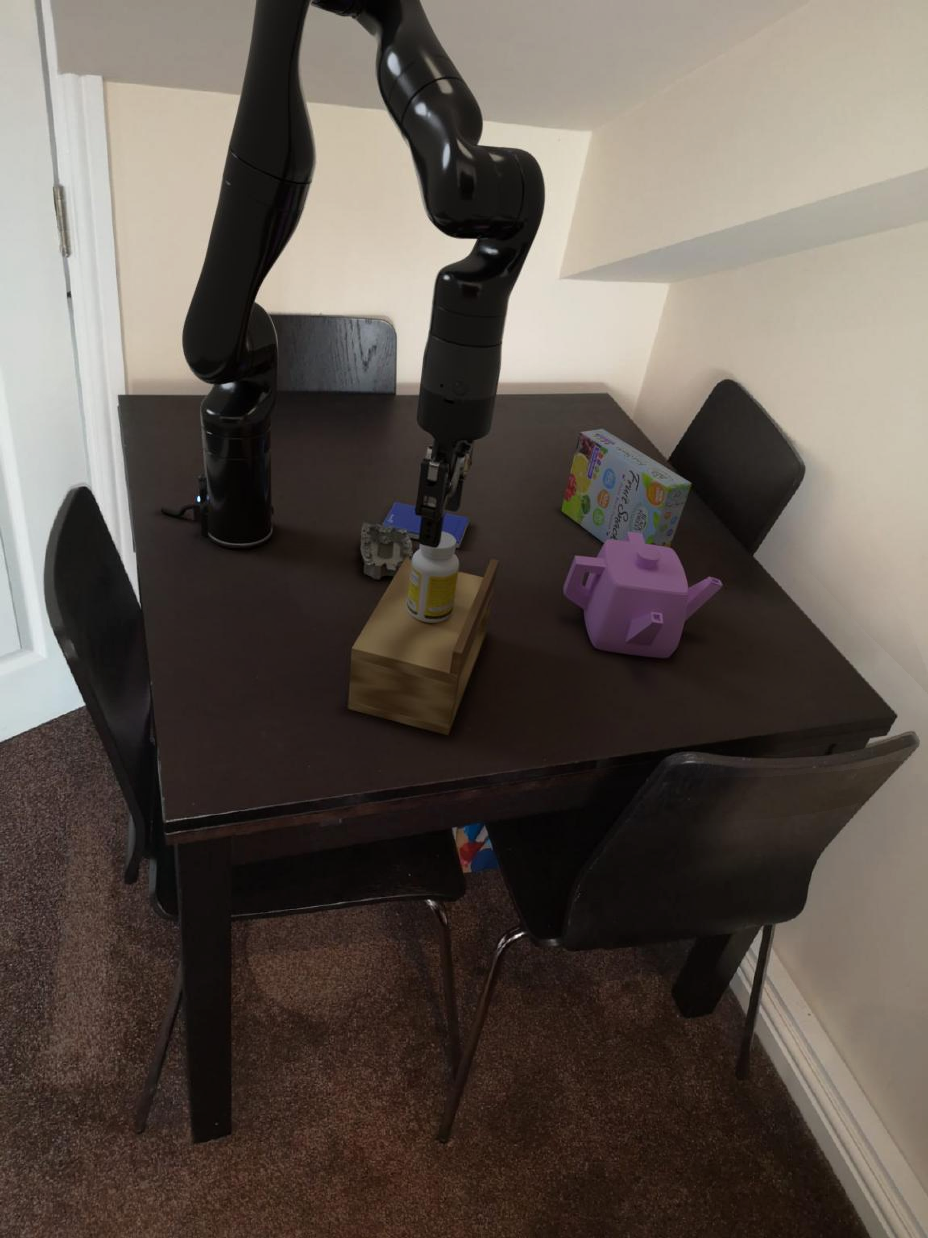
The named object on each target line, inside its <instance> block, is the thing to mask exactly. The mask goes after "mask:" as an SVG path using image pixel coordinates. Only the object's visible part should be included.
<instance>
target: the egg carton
mask: <svg viewBox="0 0 928 1238" xmlns="http://www.w3.org/2000/svg"><path fill="white" fill-rule="evenodd" d="M382 525H383V524H378V523H376V524H375V525H374V524H371V523H368V522H366V521H363V522H362V525H361V532H360V553H361V557H362V562H363V563H364V564H363V574H365V575H366V576H368V577H371V578H372V579H373V580H381V578H382V577H387V576H388V577H389V576H390V577H393V578H394V577H395V575H396V573H397V572H398V570H399V568H400V567H401V565H402V563H403V562H404V560H405V559H409V560H412V557H413V555H414V553H413V542H412V540H411V539H412V538H409V536H407V530H406V529H405V528H402V529H401V530H397V529H395V527H394V526H391V527H388V526H385V525H383V526H382Z"/></svg>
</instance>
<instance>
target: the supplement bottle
mask: <svg viewBox="0 0 928 1238" xmlns="http://www.w3.org/2000/svg"><path fill="white" fill-rule="evenodd" d="M456 549H457V548H456V539H455V538H454V537H453V536H452V535H451V534H449V533H447V532H443V531H442V535H441V542H440V544H439V546H438V547H437V548H433V547H429V546H425V545H421V544H420V543H419V548H418V549H417V550H416V551H415V552H414V553H413V557H412V563H411V573H410V582H409V592H408V601H407V609H408V612H409V613H410V615H411V616H412V617H414V618H415V619H417V620H420V621H423V622H428V623H438V622H442V621H444V620H446V619H448V618H449V617H450V616H451V614H452V610H453V605H454V598H455V591H456V584H457V577H458V572H459V569H460V560H459V558H458V556H457V555H456V553H455V552H456Z"/></svg>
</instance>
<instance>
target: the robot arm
mask: <svg viewBox="0 0 928 1238" xmlns="http://www.w3.org/2000/svg"><path fill="white" fill-rule="evenodd" d="M311 6H312V7H315V8H317V9H319V10H322V11H325V12H327V13H329V14H332V15H335V16H337V17H342V18H349V19H351V20H353V21H354V22H355V23H357V25H358V26H360V27H361V28H362V30H363V31H364V32H366V33H367V35H368V36H369V37H370V38H371V40H372V41H373V42H374V44H375V45H376V47H377V48H376V49H377V50H376V54H375V62H374V75H375V82H376V87H377V92H378V94H379V97H380V100H381V103H382V105H383V107H384V109H385V111H386V113H387V115H388V116H389V118H390V120H391V122H392V123H393V125H394V127H395V128H396V130H397V131H398V133H399V135H400V137H401V138H402V140H403V142H404V143H405V145H406V146H407V148H408V149H409V151H410V156H411V161H412V164H413V169H414V173H415V177H416V180H417V181H416V182H417V185H418V190H419V194H420V199H421V204H422V207H423V210H424V212H425V215H426V217H427V218H428V220H429V221H430V222H431V224H432V225H433V226H434V227H435V228H436V229H437V230H438V231H440V232H441V233H442V234H444V235H445V236H447V237H450V238H452V239H455V240H456V239H457V240H475V242H474V245H473V246H472V248H471V251H470V253H469V254H468V255H467V256H464V258H462V259H460V260H458V261H455V262H452V263H449V264H446V265H445V266H442V268H440V269H439V270H438V272H437V273H436V275H435V279H434V283H433V290H432V299H431V307H430V315H429V326H428V333H427V338H426V342H425V346H424V350H423V355H422V364H421V374H420V383H419V391H418V401H417V409H416V410H417V411H416V422H417V425H418V426H419V427H420V429H422V430H423V431H424V432H426V433H428V434H429V435H431V436H432V438H433V444H432V445H431V444H429V445H428V447H427V449H426V454H425V457H424V458H422V461H421V462H420V472H419V480H418V487H417V488H418V489H417V495H416V502H415V503H416V504H415V515H417V516H421V524H420V532H419V540H418V543H419V545H420V544H421V545H425V546H429V547H433V548H437V547H438V546H439V544H440V542H441V535H442V527H443V520H444V515H445V514H446V513H447V511H450V512H454V513H455V512H458V511H459V509H460V507H461V502H462V495H463V489H464V483H465V480H466V478H467V477H468V475H469V473H468V472H469V469H470V468H471V466H472V465H473V453H474V448H475V447H474V446H475V441H477V440H480V439H484V438H485V437H486V436H487V435H488V434H489V433H490V431H491V428H492V424H493V423H492V422H493V418H494V411H495V406H496V405H495V404H496V398H497V394H498V388H499V380H500V375H501V369H502V354H503V353H502V351H503V339H504V336H505V335H504V334H505V330H506V322H507V316H508V311H509V303H510V299H511V298H510V297H511V295H512V292H513V290H514V288H515V286H516V284H517V282H518V280H519V277H520V275H521V272H522V270H523V268H524V265H525V264H526V263H525V262H526V260H527V258H528V256H529V253H530V251H531V248H532V246H533V244H534V242H535V239H536V237H537V234H538V232H539V229H540V226H541V224H542V220H543V216H544V212H545V205H546V183H545V177H544V173H543V170H542V168H541V165H540V164H539V162H538V160H537V159H536V157H535V156H534V155H533V154H531V152H529V151H527V150H524V149H522V148H517V147H507V146H495V145H494V146H493V145H492V146H491V145H481V144H479V143H480V141H481V139H482V136H483V129H484V118H483V117H484V116H483V113H482V112H483V111H482V109H481V107H480V104H479V102H478V100H477V98H476V97H475V95H474V94H473V92H472V90H471V88H470V87H469V86H468V84H467V82H466V80H465V79H464V78H463V76H462V75H461V73H460V71H459V69H458V68H457V67H456V65H455V64H454V62H453V61H452V59H451V58H450V56H449V55H448V53H447V52H446V50H445V48H444V47H443V46H442V43H441V42H440V40H439V38H438V36H437V35H436V32H435V31H434V29H433V27H432V25H431V23H430V21H429V18H428V16H427V13H426V11H425V9H424V7H423V5H422V2H421V0H255V8H254V15H253V22H252V31H251V38H250V44H249V51H248V56H247V61H246V67H245V72H244V75H243V83H242V87H241V91H240V97H239V101H238V105H237V109H236V115H235V119H234V122H233V127H232V131H231V135H230V139H229V143H228V147H227V154H226V157H225V161H224V167H223V170H222V171H223V172H222V176H221V182H220V189H219V193H218V198H217V204H216V209H215V212H214V216H213V220H212V225H211V230H210V234H209V238H208V243H207V248H206V251H205V252H206V253H205V256H204V260H203V264H202V267H201V271H200V274H199V277H198V280H197V283H196V286H195V289H194V292H193V295H192V298H191V301H190V303H189V307H188V309H187V312H186V316H185V318H184V322H183V327H182V332H181V333H182V334H181V344H182V351H183V356H184V358H185V362H186V364H187V366H188V368H189V370H190V371H191V372H192V373H193V375H194V376H195V378H197V379H198V380H200V381H202V382H203V383H204V384H205V383H206V384H208V385H213V386H212V387H211V389H210V391H209V392H208V393H207V395H206V396H205V397H204V398H203V399H202V401H201V403H200V406H199V421H200V436H201V449H202V464H203V465H202V466H203V472H202V473H201V474H200V475H198V478H197V483H198V496H197V499H196V500H195V502H194V503H188V504H185V505H183V506H181V508H180V509H179V511H175V510H172V509H169V508H166V507H163V506H162V507H161V508H160V512H161V513H162V514H163V513H164V514H165V515H168V516H171V517H175V518H179V517H182V516H184V514H185V513H186V511H188V510H192V511H193V521H194V522H198V523H200V526H201V535H202V537H203V536H204V537H207V538H208V539H209V540H210V541H211V542H212V543H213V544H215V545H217V546H219V547H223V548H226V549H233V550H246V549H253V548H257V547H260V546H263V545H264V544H266V543H267V542H269V541H270V540H271V539H272V537H273V518H272V516H274V512H275V511H274V506H273V505H272V502H273V501H272V443H271V440H272V438H271V437H272V436H271V433H272V431H271V430H272V429H271V425H272V424H271V423H272V422H271V418H272V414H273V411H274V409H275V406H276V403H277V402H276V401H277V397H278V396H277V394H278V393H277V392H278V376H279V375H278V371H279V341H278V334H277V331H276V328H275V327H276V326H275V325H274V322H273V320H272V317H271V316H270V315H269V313H268V312H267V311H266V309H265V308H264V307H263V306H262V305H260V304H259V303H258V302H256V299H257V296H258V293H259V291H260V290H261V289H260V288H261V287H262V284H263V283H264V281H265V279H266V277H267V276H268V274H269V273H270V271H271V270H272V268H273V267H274V266H275V264H276V263H277V261H278V259H279V258H280V256H281V255H282V253H283V252H284V250H285V249H286V248H287V246H288V245H289V242H290V241H291V239H292V238H293V236H294V234H295V232H296V230H297V229H298V226H299V224H300V222H301V220H302V217H303V214H304V211H305V208H306V205H307V201H308V198H309V195H310V191H311V187H312V182H313V180H314V177H315V172H316V168H317V145H316V139H315V134H314V128H313V124H312V120H311V117H310V112H309V108H308V104H307V101H306V95H305V90H304V85H303V79H302V71H301V70H302V69H301V68H302V67H301V55H302V49H303V48H302V47H303V39H304V32H305V26H306V22H307V18H308V14H309V11H310V7H311ZM430 498H433V499H435V500H436V502H435V503H432V502H429V501H430Z"/></svg>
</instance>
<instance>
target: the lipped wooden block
mask: <svg viewBox="0 0 928 1238" xmlns="http://www.w3.org/2000/svg"><path fill="white" fill-rule="evenodd" d="M411 563H412V560H409V559H405V560H404V562H403V563H402V565H401V567H400V568H399V570H398V572H397V573H396V575H395V577H393V578H392V580H391V582H390V583H389V585H388V587H387V588H386V590H385V592H384V594H383V595H382V596H381V599H380V600H379V602H378V604H377V605H376V607H375V609H374V610H373V612H372V613H371V615H370V617H369V618H368V620H367V621H366V623H365V625H364V627H363V629H362V630H361V632H360V634H359V635H358V637H357V639H356V640H355V641H354V644H353V646H352V647H351V655H350V670H349V671H350V673H349V687H348V689H349V692H348V705H347V709H348V710H350V711H354V712H359V713H362V714H366V715H369V716H373V717H377V718H381V719H385V720H388V721H391V722H396V723H398V724H399V723H400V724H402V725H403V724H404V725H406V726H411V727H415V728H419V729H422V730H426V731H430V732H433V733H437V734H440V735H445V736H449V734H450V732H451V729H452V728H453V727H452V726H453V724H454V721H455V718H456V716H457V713H458V711H459V707H460V706H461V702H462V699H463V697H464V695H465V691H466V689H467V686H468V683H469V681H470V678H471V675H472V672H473V670H474V667H475V665H476V662H477V659H478V656H479V654H480V651H481V648H482V646H483V643H484V640H485V637H486V634H487V629H488V628H487V627H488V622H489V616H490V613H491V612H490V610H491V607H492V601H493V595H494V589H495V584H496V578H497V574H498V569H499V563H500V560H498V559H495V558H490V561H489V564H488V565H487V568H486V571H485V573H484V576H478V575H475V574H470V573H467V572H462V571H458V577H457V584H456V591H455V598H454V605H453V610H452V614H451V616H450V617H449V618H448V619H446V620H444V621H442V622H438V623H428V622H423V621H420V620H417V619H415V618H414V617H412V616H411V615H410V613H409V612H408V609H407V601H408V592H409V582H410V573H411Z"/></svg>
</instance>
